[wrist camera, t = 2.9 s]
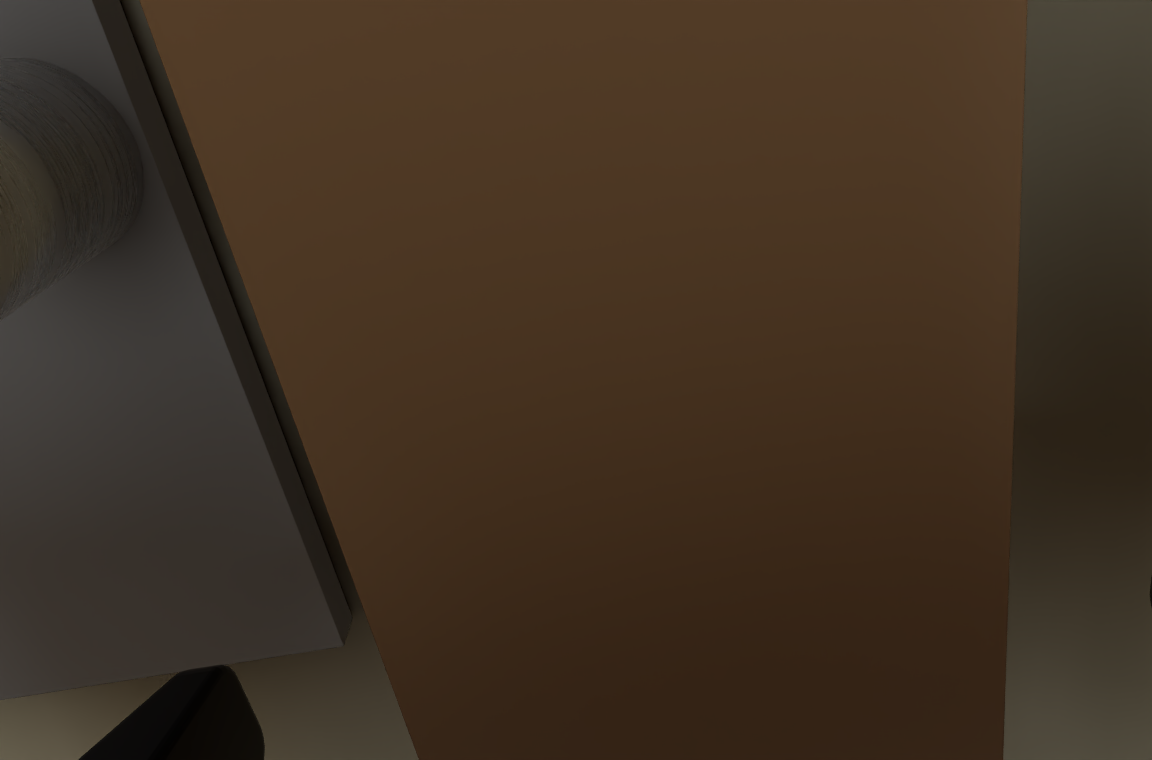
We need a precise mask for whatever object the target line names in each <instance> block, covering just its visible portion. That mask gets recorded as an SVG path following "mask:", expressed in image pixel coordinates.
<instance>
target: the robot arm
mask: <svg viewBox="0 0 1152 760" xmlns="http://www.w3.org/2000/svg"><path fill="white" fill-rule="evenodd" d="M1150 601H1151V607H1152V577H1151V586H1150ZM264 753H265V745H264V737H263V733H262V730H261V727H260V724H259V722H258V720H257V718H256V716H255V714H254V712H253V709H252V707H251V705H250V703H249V701H248V699H247V697H246V694H245V692H244V690H243V688H242V686H241V684H240V682H239V679H238V677H237V676H236V674H235V672H234V671H233V670H232V669H231V668H230V667H228V666H225V665H214V666H208V667H201V668H195V669H189V670H185V671H182V672H180V673H178V674H177V675H175V676H174V677H173V678H172V679H170V680H169V681H168V682H167V683H166V684H165V685H164V686H162V687H161V688H160V689H159V690H158V691H157V692H156V693H154V694H153V695H152V696H151V697H150V698H149V699H147V700H146V701H145V702H144V703H143V704H142V705H141V706H139V707H138V708H137V709H136V710H135V711H134V712H133V713H131V714H130V715H129V716H128V717H127V718H126V719H124V720H123V721H122V722H121V723H120V724H119V725H118V726H116V727H115V728H114V729H113V730H112V731H111V732H110V733H108V734H107V735H106V736H105V737H104V738H103V739H101V740H100V741H99V742H98V743H97V744H96V745H95V746H93V747H92V748H91V749H90V750H89V751H88V752H87V753H85V754H84V755H83V756H82V757H81V758H80V759H78V760H264Z"/></svg>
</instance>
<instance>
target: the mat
mask: <svg viewBox="0 0 1152 760" xmlns="http://www.w3.org/2000/svg"><path fill="white" fill-rule="evenodd" d="M2 58H28V59H35V60H40V61H43V62H47V63H51V64H53V65H56V66H58V67H61V68H63V69H66V70H67V71H69V72H71V73H73V74H75V75H77V76H79V77H80V78H82V79H83V80H84V81H86V82H87V83H89V84H90V85H92V86H93V87H94V88H95V89H96V90H97V91H99V92H100V93H101V94H102V95H103V96H104V97H105V98H106V99H107V100H108V101H109V102H110V103H111V104H112V105H113V106H114V108H115V109H116V110H117V111H118V113H119V114H120V115H121V117H122V118H123V120H124V121H125V123H126V124H127V126H128V128H129V129H130V131H131V133H132V135H133V138H134V140H135V142H136V144H137V147H138V150H139V153H140V156H141V161H142V166H143V174H144V190H143V198H142V202H141V207H140V209H139V212H138V214H137V217H136V219H135V220H134V222H133V224H132V225H131V227H130V228H129V229H128V231H127V232H126V233H125V234H124V235H123V236H122V237H121V238H120V239H119V240H118V241H116V242H115V243H114V244H112V245H111V246H110V247H108V248H107V249H105V250H104V251H102V252H101V253H99V254H98V255H96V256H95V257H93V258H92V259H91V260H89V261H88V262H86V263H85V264H83V265H82V266H80V267H79V268H77V269H76V270H74V271H73V272H71V273H70V274H69V275H67V276H66V277H64V278H63V279H61V280H60V281H58V282H57V283H55V284H54V285H52V286H51V287H50V288H48V289H47V290H45V291H44V292H42V293H41V294H39V295H38V296H36V297H35V298H33V299H32V300H30V301H29V302H28V303H26V304H25V305H23V306H22V307H20V308H19V309H17V310H16V311H14V312H13V313H11V314H10V315H8V316H7V317H6V318H4V319H3V320H1V321H0V700H4V699H11V698H17V697H23V696H30V695H36V694H43V693H49V692H55V691H62V690H68V689H74V688H81V687H87V686H94V685H100V684H106V683H113V682H119V681H125V680H132V679H138V678H145V677H151V676H157V675H164V674H170V673H176V672H182V671H185V670H189V669H195V668H201V667H208V666H214V665H227V664H234V663H240V662H247V661H253V660H259V659H266V658H272V657H278V656H285V655H291V654H298V653H304V652H310V651H317V650H323V649H329V648H336V647H342V646H344V644H345V640H346V637H347V634H348V630H349V627H350V624H351V621H352V615H351V613H350V610H349V607H348V605H347V602H346V600H345V597H344V594H343V592H342V589H341V586H340V584H339V581H338V578H337V576H336V573H335V570H334V568H333V565H332V562H331V560H330V557H329V555H328V552H327V549H326V547H325V544H324V541H323V539H322V536H321V533H320V531H319V528H318V525H317V523H316V520H315V517H314V515H313V512H312V509H311V507H310V504H309V502H308V499H307V496H306V494H305V491H304V488H303V486H302V483H301V480H300V478H299V475H298V472H297V470H296V467H295V464H294V462H293V459H292V456H291V454H290V451H289V449H288V446H287V443H286V441H285V438H284V435H283V433H282V430H281V427H280V425H279V422H278V419H277V417H276V414H275V411H274V409H273V406H272V404H271V401H270V398H269V396H268V393H267V390H266V388H265V385H264V382H263V380H262V377H261V374H260V372H259V369H258V366H257V364H256V361H255V358H254V356H253V353H252V351H251V348H250V345H249V343H248V340H247V337H246V335H245V332H244V329H243V327H242V324H241V321H240V319H239V316H238V313H237V311H236V308H235V305H234V303H233V300H232V298H231V295H230V292H229V290H228V287H227V284H226V282H225V279H224V276H223V274H222V271H221V268H220V266H219V263H218V260H217V258H216V255H215V253H214V250H213V247H212V245H211V242H210V239H209V237H208V234H207V231H206V229H205V226H204V223H203V221H202V218H201V215H200V213H199V210H198V207H197V205H196V202H195V200H194V197H193V194H192V192H191V189H190V186H189V184H188V181H187V178H186V176H185V173H184V170H183V168H182V165H181V162H180V160H179V157H178V154H177V152H176V149H175V147H174V144H173V141H172V139H171V136H170V133H169V131H168V128H167V125H166V123H165V120H164V117H163V115H162V112H161V109H160V107H159V104H158V102H157V99H156V96H155V94H154V91H153V88H152V86H151V83H150V80H149V78H148V75H147V72H146V70H145V67H144V64H143V62H142V59H141V56H140V54H139V51H138V49H137V46H136V43H135V41H134V38H133V35H132V33H131V30H130V27H129V25H128V22H127V19H126V17H125V14H124V11H123V9H122V6H121V4H120V1H119V0H0V59H2Z"/></svg>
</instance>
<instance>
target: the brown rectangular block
mask: <svg viewBox="0 0 1152 760" xmlns="http://www.w3.org/2000/svg"><path fill="white" fill-rule="evenodd" d="M140 3H141V6H142V9H143V11H144V14H145V17H146V19H147V22H148V25H149V28H150V30H151V33H152V36H153V39H154V41H155V44H156V47H157V49H158V52H159V55H160V58H161V60H162V63H163V66H164V68H165V71H166V74H167V77H168V79H169V82H170V85H171V87H172V90H173V93H174V96H175V98H176V101H177V104H178V106H179V109H180V112H181V115H182V117H183V120H184V123H185V125H186V128H187V131H188V134H189V136H190V139H191V142H192V144H193V147H194V150H195V153H196V155H197V158H198V161H199V163H200V166H201V169H202V172H203V174H204V177H205V180H206V182H207V185H208V188H209V191H210V193H211V196H212V199H213V201H214V204H215V207H216V210H217V212H218V215H219V218H220V221H221V223H222V226H223V229H224V231H225V234H226V237H227V240H228V242H229V245H230V248H231V250H232V253H233V256H234V259H235V261H236V264H237V267H238V269H239V272H240V275H241V278H242V280H243V283H244V286H245V288H246V291H247V294H248V297H249V299H250V302H251V305H252V307H253V310H254V313H255V316H256V318H257V321H258V324H259V326H260V329H261V332H262V335H263V337H264V340H265V343H266V345H267V348H268V351H269V354H270V356H271V359H272V362H273V364H274V367H275V370H276V373H277V375H278V378H279V381H280V383H281V386H282V389H283V392H284V394H285V397H286V400H287V402H288V405H289V408H290V411H291V413H292V416H293V419H294V422H295V424H296V427H297V430H298V432H299V435H300V438H301V441H302V443H303V446H304V449H305V451H306V454H307V457H308V460H309V462H310V465H311V468H312V470H313V473H314V476H315V479H316V481H317V484H318V487H319V489H320V492H321V495H322V498H323V500H324V503H325V506H326V508H327V511H328V514H329V517H330V519H331V522H332V525H333V527H334V530H335V533H336V536H337V538H338V541H339V544H340V546H341V549H342V552H343V555H344V557H345V560H346V563H347V565H348V568H349V571H350V574H351V576H352V579H353V582H354V584H355V587H356V590H357V593H358V595H359V598H360V601H361V604H362V606H363V609H364V612H365V614H366V617H367V620H368V623H369V625H370V628H371V631H372V633H373V636H374V639H375V642H376V644H377V647H378V650H379V652H380V655H381V658H382V661H383V663H384V666H385V669H386V671H387V674H388V677H389V680H390V682H391V685H392V688H393V690H394V693H395V696H396V699H397V701H398V704H399V707H400V709H401V712H402V715H403V718H404V720H405V723H406V726H407V728H408V731H409V734H410V737H411V739H412V742H413V745H414V747H415V750H416V753H417V756H418V758H419V760H1003V746H1004V714H1005V683H1006V652H1007V621H1008V590H1009V558H1010V527H1011V496H1012V465H1013V434H1014V403H1015V371H1016V340H1017V309H1018V278H1019V247H1020V216H1021V184H1022V153H1023V122H1024V91H1025V60H1026V28H1027V0H140Z"/></svg>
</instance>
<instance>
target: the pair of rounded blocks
mask: <svg viewBox="0 0 1152 760" xmlns="http://www.w3.org/2000/svg"><path fill="white" fill-rule="evenodd" d="M143 190H144V174H143V166H142V161H141V156H140V153H139V150H138V147H137V144H136V142H135V140H134V138H133V135H132V133H131V131H130V129H129V128H128V126H127V124H126V123H125V121H124V120H123V118H122V117H121V115H120V114H119V113H118V111H117V110H116V109H115V108H114V106H113V105H112V104H111V103H110V102H109V101H108V100H107V99H106V98H105V97H104V96H103V95H102V94H101V93H100V92H99V91H97V90H96V89H95V88H94V87H93V86H92V85H90V84H89V83H87V82H86V81H84V80H83V79H82V78H80V77H79V76H77V75H75V74H73V73H71V72H69V71H67V70H66V69H63V68H61V67H58V66H56V65H53V64H51V63H47V62H43V61H40V60H35V59H28V58H2V59H0V321H1V320H3V319H4V318H6V317H7V316H8V315H10V314H11V313H13V312H14V311H16V310H17V309H19V308H20V307H22V306H23V305H25V304H26V303H28V302H29V301H30V300H32V299H33V298H35V297H36V296H38V295H39V294H41V293H42V292H44V291H45V290H47V289H48V288H50V287H51V286H52V285H54V284H55V283H57V282H58V281H60V280H61V279H63V278H64V277H66V276H67V275H69V274H70V273H71V272H73V271H74V270H76V269H77V268H79V267H80V266H82V265H83V264H85V263H86V262H88V261H89V260H91V259H92V258H93V257H95V256H96V255H98V254H99V253H101V252H102V251H104V250H105V249H107V248H108V247H110V246H111V245H112V244H114V243H115V242H116V241H118V240H119V239H120V238H121V237H122V236H123V235H124V234H125V233H126V232H127V231H128V229H129V228H130V227H131V225H132V224H133V222H134V220H135V219H136V217H137V214H138V212H139V209H140V207H141V202H142V198H143Z"/></svg>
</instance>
